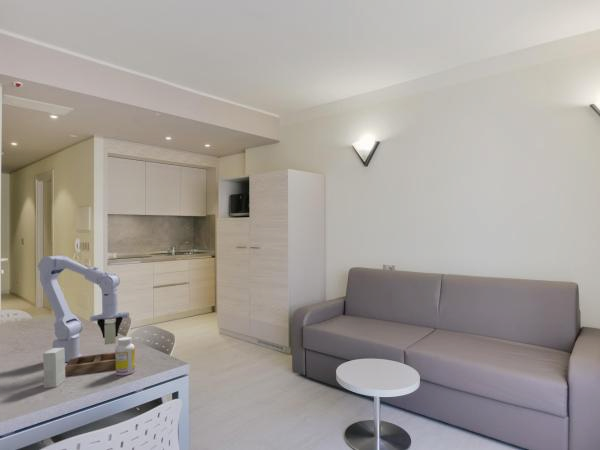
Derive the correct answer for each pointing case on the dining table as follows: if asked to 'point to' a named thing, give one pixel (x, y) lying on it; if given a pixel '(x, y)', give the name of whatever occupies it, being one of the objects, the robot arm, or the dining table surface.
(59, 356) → the skincare box
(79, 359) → the walnut rail
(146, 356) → the dining table surface
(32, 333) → the dining table surface
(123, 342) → the supplement bottle
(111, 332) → the sage peg
